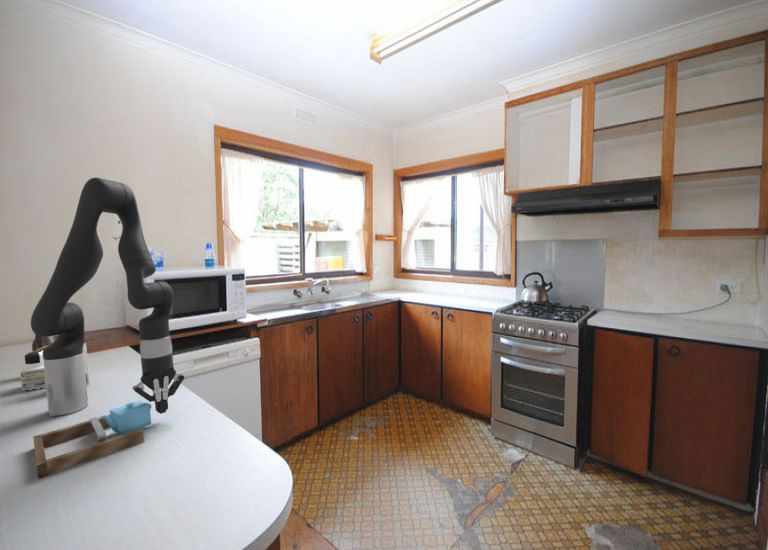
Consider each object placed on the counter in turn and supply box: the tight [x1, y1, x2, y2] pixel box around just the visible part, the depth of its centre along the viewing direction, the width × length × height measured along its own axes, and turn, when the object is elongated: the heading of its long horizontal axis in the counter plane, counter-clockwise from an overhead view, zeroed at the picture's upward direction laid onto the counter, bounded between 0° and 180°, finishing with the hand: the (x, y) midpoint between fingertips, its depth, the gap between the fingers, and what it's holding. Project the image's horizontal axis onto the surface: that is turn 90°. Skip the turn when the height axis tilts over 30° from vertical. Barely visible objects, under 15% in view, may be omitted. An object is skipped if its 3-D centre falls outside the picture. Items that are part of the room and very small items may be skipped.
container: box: [19, 350, 46, 392], centre depth 132 cm, size 8×8×13 cm
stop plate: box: [89, 416, 107, 444], centre depth 92 cm, size 2×13×4 cm, turn 46°
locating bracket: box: [32, 414, 145, 480], centre depth 90 cm, size 20×18×3 cm
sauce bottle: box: [31, 333, 53, 352], centre depth 145 cm, size 7×6×20 cm
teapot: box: [98, 399, 152, 436], centre depth 96 cm, size 12×6×8 cm, turn 146°
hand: (162, 412), depth 102 cm, fingers closed
